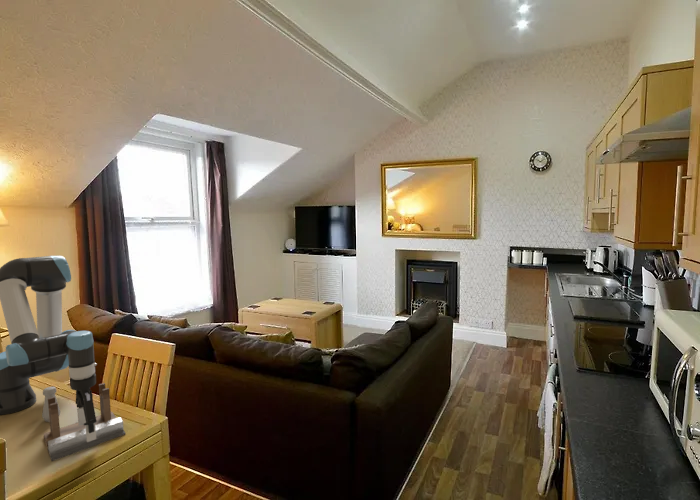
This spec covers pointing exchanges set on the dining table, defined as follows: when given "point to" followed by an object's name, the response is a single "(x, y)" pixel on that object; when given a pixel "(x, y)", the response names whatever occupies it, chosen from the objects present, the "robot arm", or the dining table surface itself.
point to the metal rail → (83, 436)
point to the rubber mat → (87, 445)
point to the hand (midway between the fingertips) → (87, 432)
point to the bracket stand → (58, 432)
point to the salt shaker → (47, 393)
